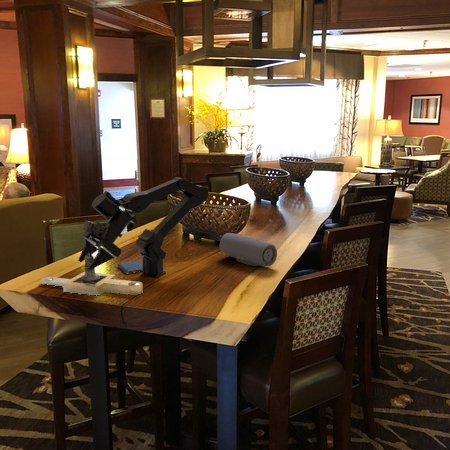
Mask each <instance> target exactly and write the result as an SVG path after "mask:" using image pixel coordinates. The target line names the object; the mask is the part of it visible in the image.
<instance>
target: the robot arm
mask: <svg viewBox="0 0 450 450" xmlns="http://www.w3.org/2000/svg"><path fill="white" fill-rule="evenodd" d="M177 192H180V193H182V197H181V200H180V201H179V202H178V203H177V204H176V205H175V206H174V207H173V208H172V209H171V211H170V212H169V213H168V214H167V215H165V217H164V218H163V219H162V220H161V221H160V222H159V223H158V224H157V225H156V226H155V227H154V228H153V229H148V228H145V229H144V230H143V231H142V233H140V235H138V236H137V239H136V241H135V248H136V250H137V252H139V253H140V255H141V256H142V260H143V261H142V262H143V272H140V275H141V276H144V277H148V278H149V277H150V278H158V277H160V276H161V275H164V274H166V273H167V271H166V270H164V259H165V257H166V255H167V252H166V251H164V250H163V249H162V247H163V244H164V241H165V238H166V237H167V236H168V235H169V234H170V232H171V231H172V230H174V228H175V227H176V226H177V225H178V224H179V223H180V222H181V221H182V220H183V219H184V218H185V217H186V215H188V214H189V213H190V211H192V210H193V209H195V208H197V207H199V206H201V205H202V204H204V203H205V202H206V201H207V200H208V199H209V194H210V193H209V190H208V188H207V187H206V186H202V185H198V184H195V183H193V182H190V181H188V180H186V179H185V178H183V177H174V178H172V179H171V180H169V181H168V180H167V181H166V182H163V183H160V184H159V185H157V186H154V187H151V188H149V189H147V190H143V191H142V190H141V191H134V192H129V193H126V194H125V195H124V196H123V197H121V198H117V199H116V198H115V197H114V196H113V195H112V193H110V192H109V191H107V190H105V191H104V192H103V193H101V194H98V196H96V197H95V198H94V199H93V200H92V202H91V203H92V204H91V207H92V208H93V209H94V210H96V211H97V212H98V213H99V214H101V215H102V217H103V218H109V219H108V220H107V221H106V222H99V221H95V222H93V221H90V220H89V221H88V220H85V221H84V223H83V226H82V231H84V232H83V234H82V240H83V247H82V250H81V252H80V255H79V257H78V262H79V263H82V262H83V261H84V262H85V256H86V255H88V252H89V253H90V255H92V256H93V255H94V254H95V253H96V255H95V256H94V260H93V261H92V263H91V265H90V266H89V268H90V269H94V268H98V267H99V266H101V265H102V264H105V263H107V262H109V261H112V260H115V258H119V257H120V255H122V249H121V248H120V247H119V246H117V245H116V244H115V242H116V240H117V239H118V238H122V236H123V234H122V233H123V231H124V230H125V229H126V228H127V226H128V225H129V224H130V223H132V224H134V225H137V223H138V222H137V215H135V214H139V213H142V212H143V211H145V210H146V209H147V208H149V207H150V206H151V204H153V203H154V202H157V201H158V200H161V199H163V198H166V197H168V196H170V195H172V194H175V193H177ZM121 208H122V209H123V210H122V209H121ZM129 212H132V213H134V214H131V213H129Z"/></svg>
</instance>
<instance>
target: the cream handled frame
mask: <svg viewBox="0 0 450 450" xmlns="http://www.w3.org/2000/svg"><path fill="white" fill-rule="evenodd" d="M70 279H71V278H63V277H54V276H46V277H42V278H40V285H41V284H47V285H55V286H62V287H61V288H62V290H63V293H64V292H70V293H69V294H72V293H78V294H77V295H81V294H89V295H88V296H90V295H96V296H95V297H98V296H97V295H99V294H100V295H101V293H102V294H103V293H105V292H104V288H102V289H101V290H99V291H97V292H95V291H86V290H76V289H67V288H63V283H65V282H66V281H68V280H70ZM99 281H101V280H99ZM99 281H98V282H99ZM79 283H83V282H82V281H81V282H79ZM55 286H54V287H55ZM100 295H99V296H100Z"/></svg>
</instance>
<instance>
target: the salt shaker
mask: <svg viewBox="0 0 450 450" xmlns="http://www.w3.org/2000/svg"><path fill="white" fill-rule="evenodd" d="M94 258H95V256H94V255H93V254H92V255H90V253H89V252H88V255H86V256H85V260H84V266H83V268H84V272H85V276H83V277H81V280H82V282H83V283H86V284H96V283H97V282H98V281H99V278H100V276H99V275H96V274H95V273H96V272H95V270H96V269H95V268H96V267H95V268H94V269H90V268H89V266H90V265H91V263H92V261H93V260H94Z"/></svg>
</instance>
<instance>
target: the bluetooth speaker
mask: <svg viewBox="0 0 450 450" xmlns="http://www.w3.org/2000/svg"><path fill="white" fill-rule="evenodd" d="M219 249H220V251H221V253H223V254H225V255H227V256H229V257H232V258H234V259H235V260H236V261H237V263H241V264H245V265H248V266H250V267H251V266H252V267H257V266H260V267H271V266H272V265H274V264H275V262H276V261H277V258H278V250H277V248H276V246H275V245H274V244H272V243H270V242H267V241H264V240H261V239H257V238H255V237H251V236H247V235H242V234H239V233H232V232H227V233H224V234H223V235H222V237H221V238H220V241H219Z"/></svg>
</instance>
